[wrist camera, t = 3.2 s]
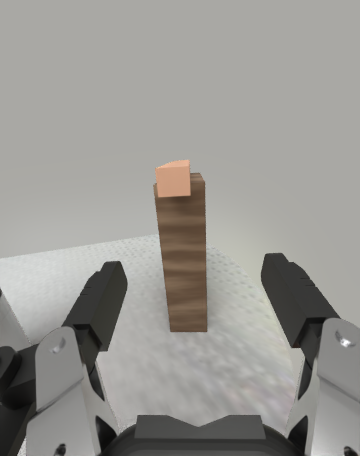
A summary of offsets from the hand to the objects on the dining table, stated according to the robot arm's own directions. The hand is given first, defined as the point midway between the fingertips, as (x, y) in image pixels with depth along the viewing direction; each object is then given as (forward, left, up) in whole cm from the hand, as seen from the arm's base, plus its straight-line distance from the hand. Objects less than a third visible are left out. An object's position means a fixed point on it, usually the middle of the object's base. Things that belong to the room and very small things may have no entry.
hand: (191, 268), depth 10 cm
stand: (-13, +24, -30) cm, 41 cm away
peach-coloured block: (-11, +20, +2) cm, 23 cm away
